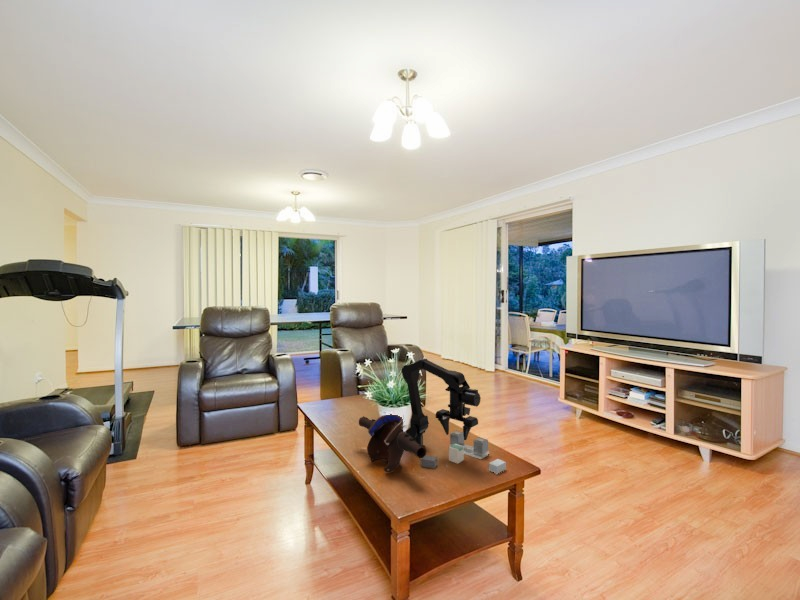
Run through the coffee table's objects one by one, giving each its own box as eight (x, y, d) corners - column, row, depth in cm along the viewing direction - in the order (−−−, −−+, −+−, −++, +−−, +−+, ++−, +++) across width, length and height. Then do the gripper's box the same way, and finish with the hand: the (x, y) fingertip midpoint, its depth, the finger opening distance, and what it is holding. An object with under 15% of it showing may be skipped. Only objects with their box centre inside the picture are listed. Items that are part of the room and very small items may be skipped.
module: (457, 463, 164) (457, 449, 164) (448, 460, 167) (448, 446, 167) (464, 459, 168) (464, 446, 168) (455, 456, 171) (455, 443, 171)
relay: (434, 469, 160) (434, 461, 160) (420, 467, 162) (420, 458, 162) (437, 465, 163) (437, 457, 163) (423, 463, 165) (423, 455, 165)
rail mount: (481, 459, 168) (481, 443, 168) (449, 448, 179) (449, 433, 179) (489, 454, 173) (489, 438, 173) (457, 444, 184) (457, 429, 184)
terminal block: (496, 475, 154) (496, 466, 154) (488, 471, 158) (488, 462, 157) (505, 470, 158) (505, 462, 158) (497, 467, 161) (497, 458, 161)
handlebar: (349, 451, 177) (349, 408, 177) (372, 444, 185) (372, 403, 184) (409, 491, 142) (409, 438, 141) (435, 481, 150) (435, 430, 149)
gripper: (484, 401, 167) (484, 437, 167) (448, 394, 179) (448, 427, 180) (471, 408, 158) (471, 445, 159) (434, 399, 171) (434, 433, 171)
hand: (456, 437), depth 167 cm, fingers open, 9 cm apart
